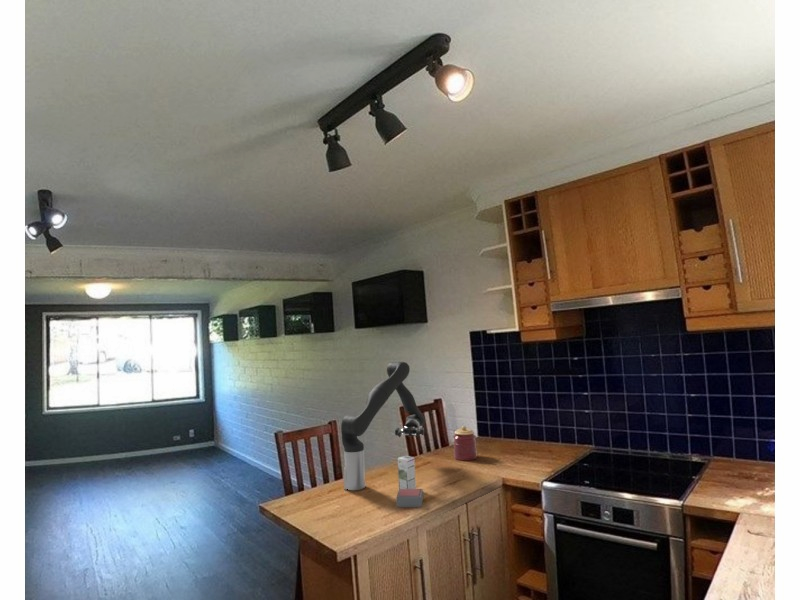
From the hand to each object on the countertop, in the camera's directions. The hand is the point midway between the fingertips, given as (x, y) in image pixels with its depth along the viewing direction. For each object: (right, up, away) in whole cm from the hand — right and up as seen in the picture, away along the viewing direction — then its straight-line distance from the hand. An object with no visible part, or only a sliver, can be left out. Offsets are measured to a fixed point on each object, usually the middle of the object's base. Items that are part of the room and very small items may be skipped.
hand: (408, 434), depth 220 cm
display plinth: (0, -20, -29) cm, 35 cm away
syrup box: (-1, -22, -13) cm, 25 cm away
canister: (+33, -24, +36) cm, 55 cm away
